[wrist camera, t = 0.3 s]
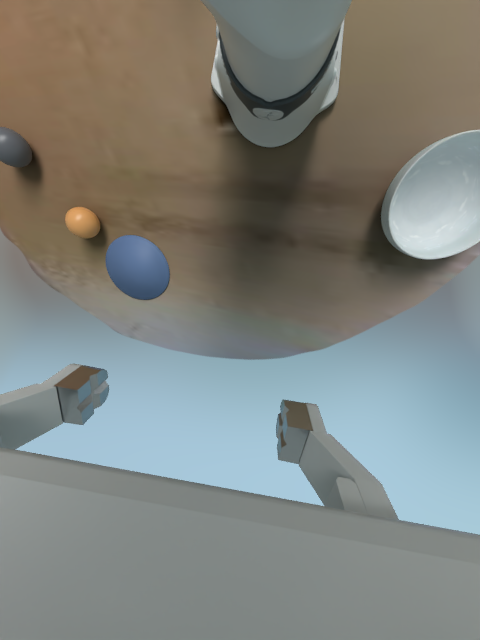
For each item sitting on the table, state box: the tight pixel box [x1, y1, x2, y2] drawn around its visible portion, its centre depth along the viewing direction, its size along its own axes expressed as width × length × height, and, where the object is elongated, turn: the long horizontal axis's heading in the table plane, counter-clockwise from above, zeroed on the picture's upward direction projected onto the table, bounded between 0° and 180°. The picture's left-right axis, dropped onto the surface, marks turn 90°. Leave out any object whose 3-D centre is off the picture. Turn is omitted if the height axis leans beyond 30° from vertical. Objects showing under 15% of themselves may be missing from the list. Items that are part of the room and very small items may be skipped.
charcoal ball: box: [0, 127, 32, 167], centre depth 39 cm, size 6×6×6 cm
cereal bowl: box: [381, 130, 480, 259], centre depth 36 cm, size 17×17×7 cm
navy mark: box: [106, 235, 170, 300], centre depth 49 cm, size 14×14×1 cm
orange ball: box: [65, 207, 100, 238], centre depth 43 cm, size 6×6×6 cm
